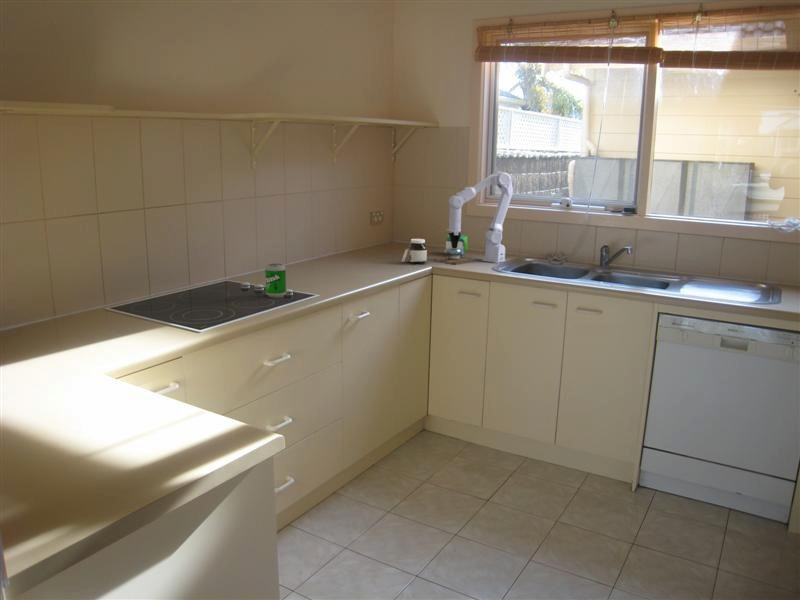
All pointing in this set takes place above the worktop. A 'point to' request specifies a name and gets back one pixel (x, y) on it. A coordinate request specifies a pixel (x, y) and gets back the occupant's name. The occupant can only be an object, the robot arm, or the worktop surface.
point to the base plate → (462, 260)
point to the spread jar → (416, 252)
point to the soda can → (275, 280)
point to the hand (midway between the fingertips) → (454, 247)
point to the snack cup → (461, 239)
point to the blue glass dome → (451, 250)
